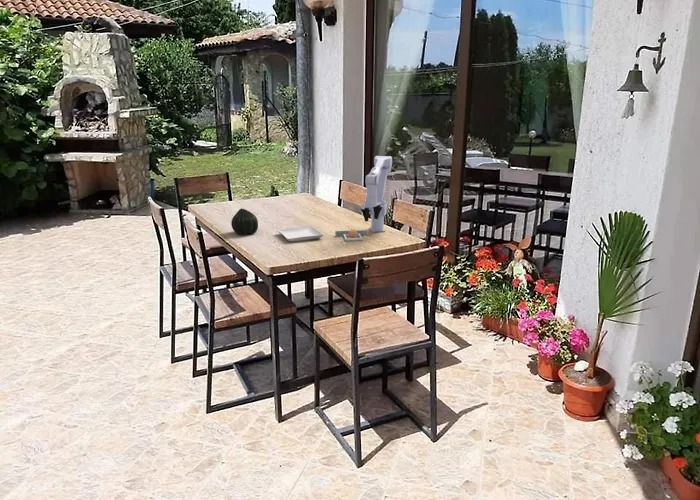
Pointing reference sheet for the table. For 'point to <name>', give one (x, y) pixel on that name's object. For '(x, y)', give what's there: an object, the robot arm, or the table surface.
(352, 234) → the ball
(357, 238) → the white square tray
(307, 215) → the table surface
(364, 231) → the low wall
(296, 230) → the salad plate
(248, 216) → the squash
